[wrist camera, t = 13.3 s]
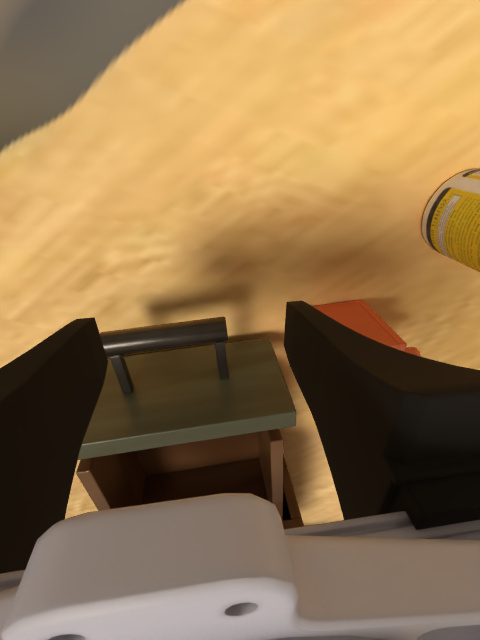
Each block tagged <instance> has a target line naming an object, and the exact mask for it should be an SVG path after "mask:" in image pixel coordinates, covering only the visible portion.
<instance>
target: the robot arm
mask: <svg viewBox="0 0 480 640" xmlns="http://www.w3.org/2000/svg"><path fill="white" fill-rule="evenodd" d="M284 347H285V351H286V354H287V358H288V361H289V364H290V367H291V369H292V372H293V374H294V376H295V378H296V380H297V383H298V385H299V387H300V389H301V391H302V393H303V396H304V398H305V400H306V402H307V404H308V406H309V409H310V411H311V413H312V416H313V418H314V421H315V423H316V426H317V429H318V432H319V435H320V438H321V441H322V444H323V448H324V451H325V454H326V457H327V461H328V464H329V467H330V470H331V474H332V477H333V481H334V484H335V488H336V491H337V495H338V498H339V502H340V506H341V510H342V513H343V517H344V520H343V521H336V522H330V523H323V524H317V525H310V526H304V527H298V528H291V529H285V530H284V528H283V524H282V519H281V517H280V514H279V512H278V510H277V508H276V505H275V504H273V503H271V502H269V501H267V500H265V499H262V498H260V497H258V496H255V495H253V494H251V493H222V494H215V495H208V496H201V497H194V498H187V499H180V500H172V501H165V502H158V503H151V504H144V505H137V506H130V507H123V508H116V509H109V510H101V511H94V512H87V513H84V514H81V515H77V516H74V517H71V518H67V519H65V514H66V508H67V504H68V499H69V495H70V490H71V485H72V481H73V476H74V472H75V468H76V464H77V460H78V456H79V452H80V449H81V445H82V442H83V439H84V436H85V434H86V431H87V428H88V426H89V423H90V420H91V418H92V415H93V412H94V410H95V407H96V404H97V402H98V399H99V396H100V393H101V391H102V388H103V385H104V380H105V376H106V371H107V365H108V360H107V356H106V353H105V350H104V347H103V344H102V340H101V337H100V334H99V331H98V328H97V324H96V321H95V318H83V319H76V320H74V321H72V322H71V323H69V324H67V325H66V326H64V327H63V328H61V329H60V330H58V331H57V332H55V333H54V334H53V335H51V336H50V337H48V338H47V339H45V340H44V341H42V342H41V343H39V344H38V345H36V346H35V347H33V348H32V349H30V350H29V351H27V352H26V353H24V354H23V355H21V356H19V357H18V358H16V359H15V360H13V361H11V362H10V363H8V364H7V365H5V366H3V367H2V368H0V640H480V370H475V369H470V368H465V367H459V366H455V365H450V364H446V363H442V362H438V361H434V360H430V359H427V358H423V357H420V356H416V355H413V354H410V353H407V352H404V351H401V350H398V349H395V348H393V347H390V346H387V345H385V344H382V343H380V342H378V341H375V340H373V339H370V338H368V337H366V336H364V335H362V334H360V333H358V332H356V331H354V330H352V329H350V328H348V327H346V326H344V325H343V324H341V323H339V322H337V321H336V320H334V319H332V318H331V317H329V316H327V315H326V314H324V313H322V312H321V311H319V310H317V309H316V308H314V307H313V306H311V305H309V304H307V303H306V302H304V301H293V302H287V305H286V320H285V335H284Z"/></svg>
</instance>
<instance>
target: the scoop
mask: <svg viewBox="0 0 480 640" xmlns="http://www.w3.org/2000/svg"><path fill="white" fill-rule="evenodd" d="M313 307H314V308H316V309H317V310H319V311H321V312H322V313H324V314H326V315H327V316H329V317H331V318H332V319H334V320H336V321H337V322H339V323H341V324H343V325H344V326H346V327H348V328H350V329H352V330H354V331H356V332H358V333H360V334H362V335H364V336H366V337H368V338H370V339H373V340H375V341H378V342H380V343H382V344H385V345H387V346H390V347H393V348H395V349H398V350H401V351H404V352H407V353H410V354H413V355H416V356H420V351H419V350H418V349H417V348H415V347H407V348H406V345H407V344H406V342H405V341H404V340H403V339H402V338H401V337H399V336H398V335H397V334H396V333H395V332H394V331H393V330H392V329H391V328H390V327H389V326H388V325H387V324H386V323H385V322H384V321H383V320H382V319H381V318H380V317H379V316H378V315H377V314H376V313H375V312H374V311H373V310H372V309H371V308H370V307H369V306H368V305H367V304H366V303H365V302H364V301H363V300H357V301H349V302H342V303H334V304H326V305H318V306H313Z"/></svg>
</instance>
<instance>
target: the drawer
mask: <svg viewBox="0 0 480 640" xmlns="http://www.w3.org/2000/svg"><path fill="white" fill-rule="evenodd" d="M100 337H101V340H102V344H103V347H104V350H105V353H106V356H107V357H109V356H110V357H109V358H110V359H107V360H108V365H107V371H106V376H105V380H104V385H103V388H102V391H101V393H100V396H99V399H98V402H97V404H96V407H95V410H94V412H93V415H92V418H91V420H90V423H89V426H88V428H87V431H86V434H85V436H84V439H83V442H82V445H81V449H80V452H79V456H78V460H80V463H79V466H78V469H77V472H76V474H77V476H78V477H79V479H80V481H81V482H82V484H83V486H84V487H85V489H86V491H87V492H88V494H89V496H90V497H91V499H92V501H93V502H94V504H95V506H96V507H97V509H98V511H101V510H109V509H116V508H123V507H130V506H137V505H144V504H151V503H158V502H165V501H172V500H180V499H187V498H194V497H201V496H208V495H215V494H222V493H251V494H253V495H255V496H258V497H260V498H262V499H265V500H267V501H269V502H271V503H273V504H275V505H276V508H277V510H278V512H279V514H280V517H281V519H282V521H283V438H282V435H281V431H280V428H286V427H293V426H296V409H295V406H294V404H293V401H292V398H291V395H290V393H289V390H288V387H287V385H286V382H285V379H284V376H283V374H282V371H281V368H280V366H279V363H278V360H277V357H276V355H275V352H274V349H273V347H272V344H271V341H270V338H261V339H253V340H246V341H239V342H231V343H225V341H227V340H228V335H227V327H226V320H225V317H217V318H209V319H201V320H193V321H186V322H178V323H170V324H162V325H154V326H147V327H139V328H131V329H123V330H115V331H108V332H101V333H100ZM213 342H214V344H215V345H209V346H201V347H194V348H186V349H179V350H171V351H164V352H157V353H149V354H142V355H134V356H127V357H124V356H123V355H124V354H131V353H138V352H146V351H153V350H161V349H168V348H176V347H183V346H191V345H198V344H206V343H213Z"/></svg>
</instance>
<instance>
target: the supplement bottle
mask: <svg viewBox="0 0 480 640" xmlns="http://www.w3.org/2000/svg"><path fill="white" fill-rule="evenodd" d="M422 233H423V237H424V239H425V241H426V242H427V244H428V245H429V246H430V247H431V248H433V249H434V250H436V251H437V252H439V253H441V254H443V255H445V256H447V257H449V258H451V259H454V260H456V261H458V262H460V263H462V264H464V265H466V266H468V267H470V268H472V269H475V270H477V271H479V272H480V169H471V170H467V171H464V172H461V173H459V174H457V175H455V176H453V177H452V178H450V179H449V180H447V181H446V182H445V183H444V184H443V185H442V186H441V187H440V188H439V189H438V190H437V191H436V192H435V194H434V195H433V196H432V198H431V199H430V201H429V203H428V205H427V207H426V209H425V211H424V215H423V219H422Z"/></svg>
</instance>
